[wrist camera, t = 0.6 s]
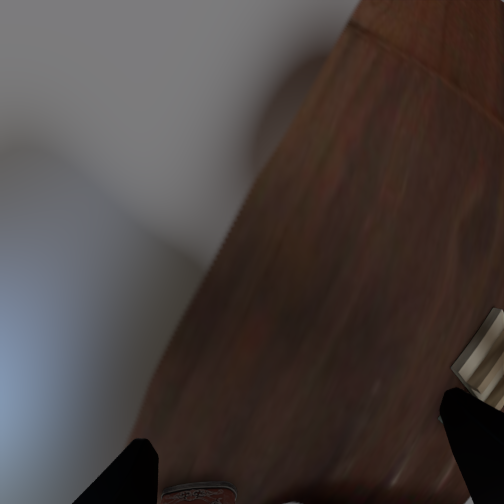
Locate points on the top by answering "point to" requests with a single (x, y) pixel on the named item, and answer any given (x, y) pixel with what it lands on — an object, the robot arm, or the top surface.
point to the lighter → (200, 493)
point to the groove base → (485, 361)
